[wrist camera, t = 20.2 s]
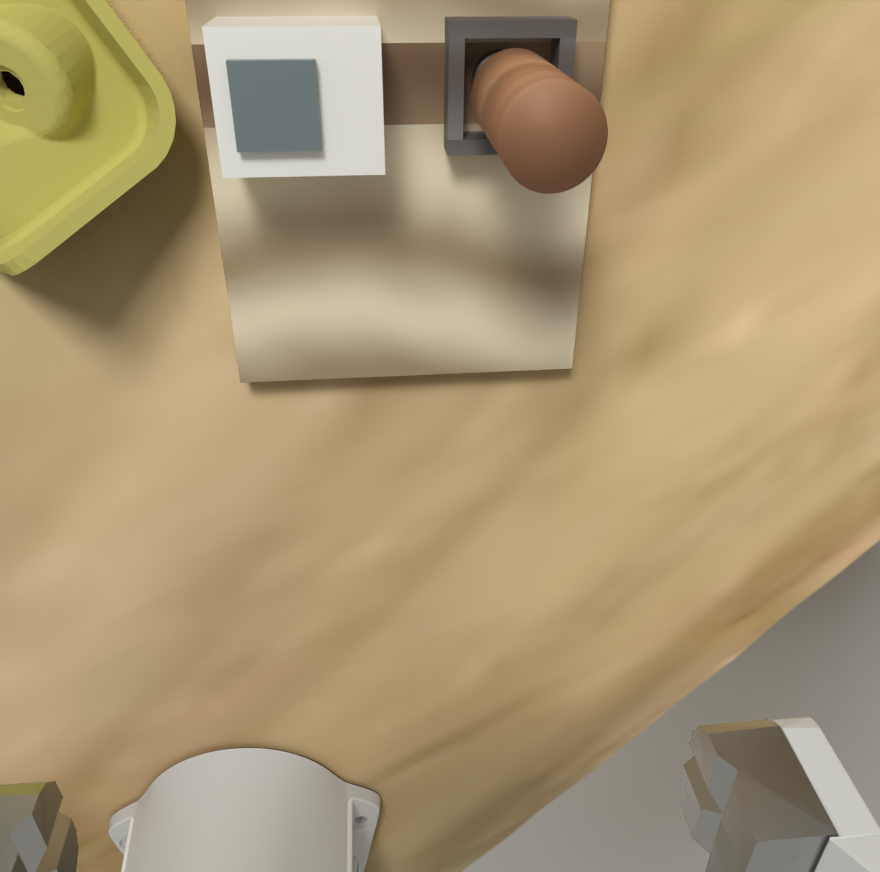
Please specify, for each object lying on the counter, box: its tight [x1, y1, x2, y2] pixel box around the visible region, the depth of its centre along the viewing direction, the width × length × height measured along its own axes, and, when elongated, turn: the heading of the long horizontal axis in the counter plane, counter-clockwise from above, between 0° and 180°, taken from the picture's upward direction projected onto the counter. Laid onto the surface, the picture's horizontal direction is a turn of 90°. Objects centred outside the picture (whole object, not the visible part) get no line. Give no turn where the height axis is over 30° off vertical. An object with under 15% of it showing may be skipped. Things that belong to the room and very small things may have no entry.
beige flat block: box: [185, 0, 610, 383], centre depth 34 cm, size 18×16×3 cm
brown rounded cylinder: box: [471, 48, 608, 194], centre depth 28 cm, size 3×3×10 cm
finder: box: [202, 16, 385, 178], centre depth 30 cm, size 6×5×4 cm
